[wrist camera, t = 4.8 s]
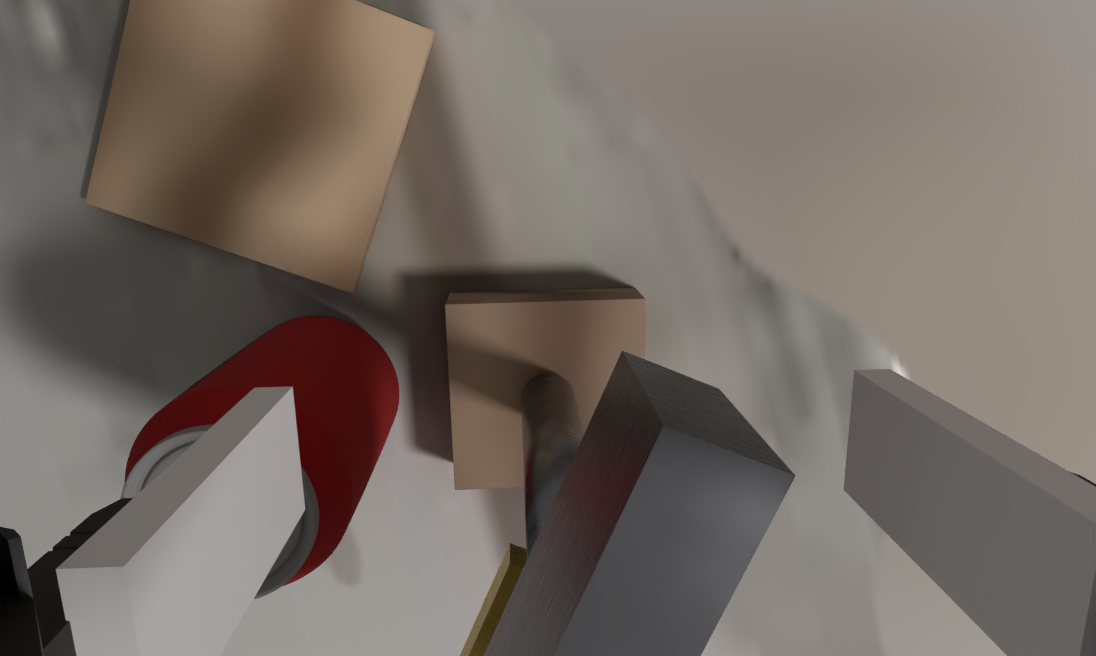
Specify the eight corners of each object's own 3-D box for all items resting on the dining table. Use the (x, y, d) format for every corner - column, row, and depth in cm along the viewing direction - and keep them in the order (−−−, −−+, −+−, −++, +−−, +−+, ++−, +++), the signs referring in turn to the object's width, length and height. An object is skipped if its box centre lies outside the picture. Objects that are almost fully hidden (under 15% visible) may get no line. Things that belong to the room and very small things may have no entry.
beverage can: (224, 334, 31) (51, 443, 19) (375, 292, 31) (292, 376, 19) (278, 473, 33) (149, 650, 21) (422, 434, 33) (373, 591, 21)
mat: (93, 202, 30) (84, 202, 29) (156, -76, 27) (148, -82, 27) (355, 291, 31) (352, 293, 30) (435, 33, 29) (434, 31, 28)
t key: (479, 623, 32) (443, 1143, 15) (427, 606, 31) (332, 1118, 15) (629, 287, 29) (794, 475, 12) (573, 264, 28) (664, 425, 12)
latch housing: (459, 465, 33) (455, 490, 31) (449, 292, 31) (444, 304, 29) (633, 458, 33) (642, 482, 31) (634, 287, 31) (645, 298, 29)
